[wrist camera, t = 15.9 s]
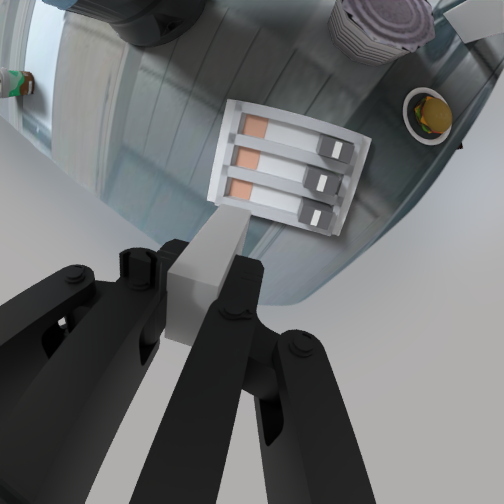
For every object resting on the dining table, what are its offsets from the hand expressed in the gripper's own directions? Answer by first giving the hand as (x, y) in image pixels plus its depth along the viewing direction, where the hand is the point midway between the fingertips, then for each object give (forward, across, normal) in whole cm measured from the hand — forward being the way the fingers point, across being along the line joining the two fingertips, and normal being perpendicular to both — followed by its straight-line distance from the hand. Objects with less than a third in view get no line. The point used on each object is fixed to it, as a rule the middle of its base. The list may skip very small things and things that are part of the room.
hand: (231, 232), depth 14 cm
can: (+27, +8, +24) cm, 37 cm away
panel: (+26, +2, 0) cm, 27 cm away
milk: (+27, +24, +36) cm, 51 cm away
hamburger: (+27, +21, +15) cm, 37 cm away
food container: (+27, -56, +12) cm, 63 cm away
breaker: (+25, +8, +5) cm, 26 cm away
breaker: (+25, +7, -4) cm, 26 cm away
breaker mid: (+25, +7, 0) cm, 26 cm away
